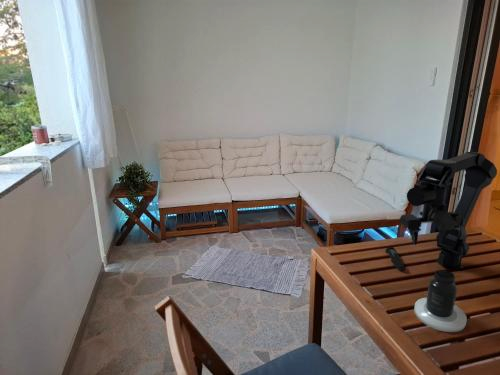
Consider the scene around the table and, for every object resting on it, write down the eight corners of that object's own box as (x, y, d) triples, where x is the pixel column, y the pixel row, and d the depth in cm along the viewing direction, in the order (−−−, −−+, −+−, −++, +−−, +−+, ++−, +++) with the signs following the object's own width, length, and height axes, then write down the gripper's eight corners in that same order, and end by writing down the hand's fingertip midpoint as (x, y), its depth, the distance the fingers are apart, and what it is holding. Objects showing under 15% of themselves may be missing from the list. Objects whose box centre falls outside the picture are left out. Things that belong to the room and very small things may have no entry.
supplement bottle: (458, 316, 91) (465, 279, 87) (435, 319, 90) (442, 282, 86) (441, 301, 97) (447, 266, 94) (420, 304, 96) (425, 268, 93)
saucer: (445, 299, 100) (446, 295, 100) (477, 329, 88) (478, 324, 87) (405, 303, 99) (406, 298, 99) (431, 334, 87) (432, 329, 86)
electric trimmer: (395, 273, 116) (396, 265, 115) (384, 251, 130) (385, 244, 129) (407, 273, 115) (408, 266, 114) (394, 252, 130) (395, 245, 129)
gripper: (421, 210, 95) (415, 257, 100) (481, 206, 97) (471, 253, 101) (401, 198, 106) (396, 241, 111) (455, 194, 107) (448, 237, 112)
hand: (427, 243), depth 108 cm, fingers open, 9 cm apart
